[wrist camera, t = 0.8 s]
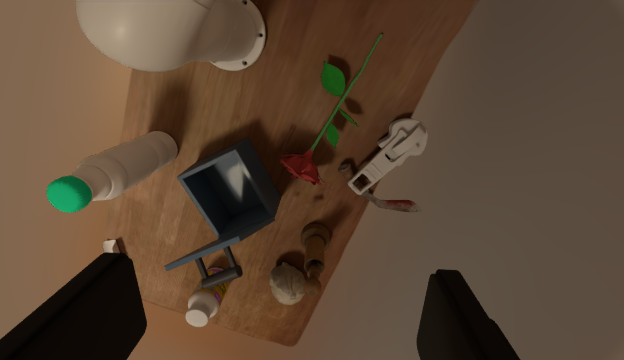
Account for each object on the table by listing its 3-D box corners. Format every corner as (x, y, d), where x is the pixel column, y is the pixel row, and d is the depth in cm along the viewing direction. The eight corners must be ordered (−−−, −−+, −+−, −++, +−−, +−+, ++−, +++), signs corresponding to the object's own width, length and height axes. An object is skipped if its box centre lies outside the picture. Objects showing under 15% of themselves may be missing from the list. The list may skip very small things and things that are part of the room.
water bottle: (166, 169, 63) (73, 232, 40) (138, 147, 61) (24, 198, 38) (185, 147, 61) (99, 198, 38) (157, 122, 59) (48, 161, 36)
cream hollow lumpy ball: (276, 256, 73) (260, 270, 63) (310, 257, 71) (298, 273, 61) (277, 293, 73) (262, 313, 64) (311, 296, 71) (300, 317, 62)
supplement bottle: (236, 279, 73) (219, 321, 61) (218, 292, 75) (197, 335, 63) (217, 261, 71) (195, 301, 59) (198, 274, 73) (174, 316, 61)
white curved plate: (111, 247, 67) (96, 249, 66) (121, 276, 70) (107, 278, 69) (117, 239, 70) (102, 241, 70) (126, 266, 73) (112, 269, 73)
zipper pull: (338, 171, 61) (339, 178, 57) (407, 107, 56) (414, 110, 52) (364, 197, 62) (367, 205, 58) (433, 137, 58) (441, 141, 54)
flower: (427, 46, 46) (324, 205, 51) (400, 60, 58) (319, 189, 62) (360, -3, 44) (259, 168, 49) (346, 22, 56) (266, 157, 60)
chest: (196, 162, 62) (176, 177, 54) (247, 137, 60) (235, 149, 51) (231, 218, 67) (218, 240, 58) (281, 197, 64) (274, 217, 56)
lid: (164, 266, 43) (179, 303, 43) (238, 235, 41) (254, 275, 40) (217, 239, 58) (228, 266, 58) (273, 216, 56) (285, 244, 56)
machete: (426, 211, 63) (411, 228, 64) (421, 205, 65) (406, 222, 67) (348, 160, 57) (333, 180, 59) (345, 156, 60) (331, 175, 61)
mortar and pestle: (335, 240, 68) (338, 298, 51) (311, 252, 69) (306, 312, 52) (319, 218, 66) (317, 271, 49) (295, 231, 67) (285, 287, 50)
